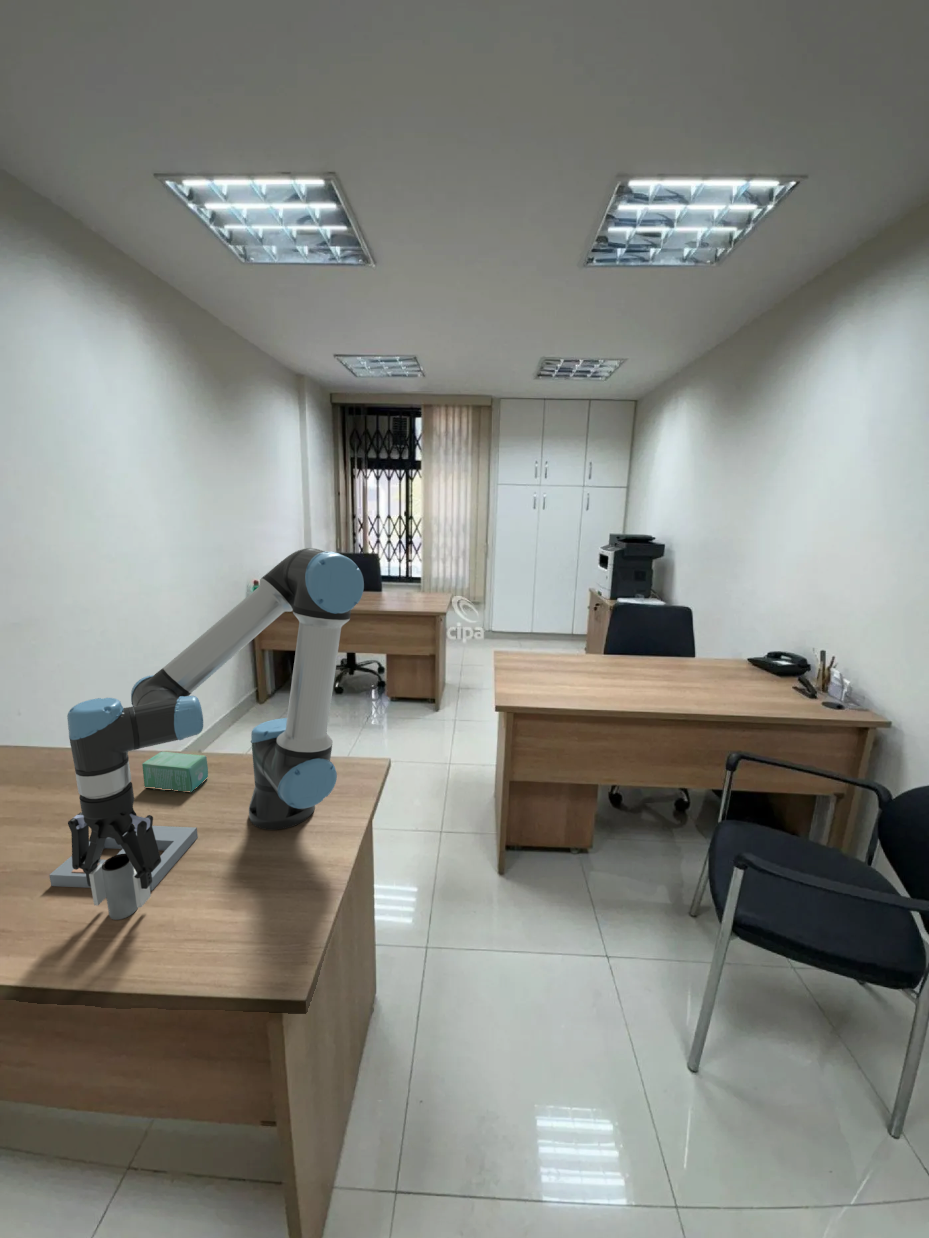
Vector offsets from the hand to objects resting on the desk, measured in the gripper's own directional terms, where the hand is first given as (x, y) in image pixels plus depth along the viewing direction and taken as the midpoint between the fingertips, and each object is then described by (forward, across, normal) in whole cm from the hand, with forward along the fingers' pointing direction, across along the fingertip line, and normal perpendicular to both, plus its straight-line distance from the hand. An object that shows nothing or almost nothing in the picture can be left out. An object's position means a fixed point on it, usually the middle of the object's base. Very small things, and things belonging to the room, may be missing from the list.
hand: (122, 900), depth 92 cm
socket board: (+2, +8, -13) cm, 15 cm away
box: (+2, +15, -42) cm, 45 cm away
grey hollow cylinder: (+2, 0, 0) cm, 2 cm away
